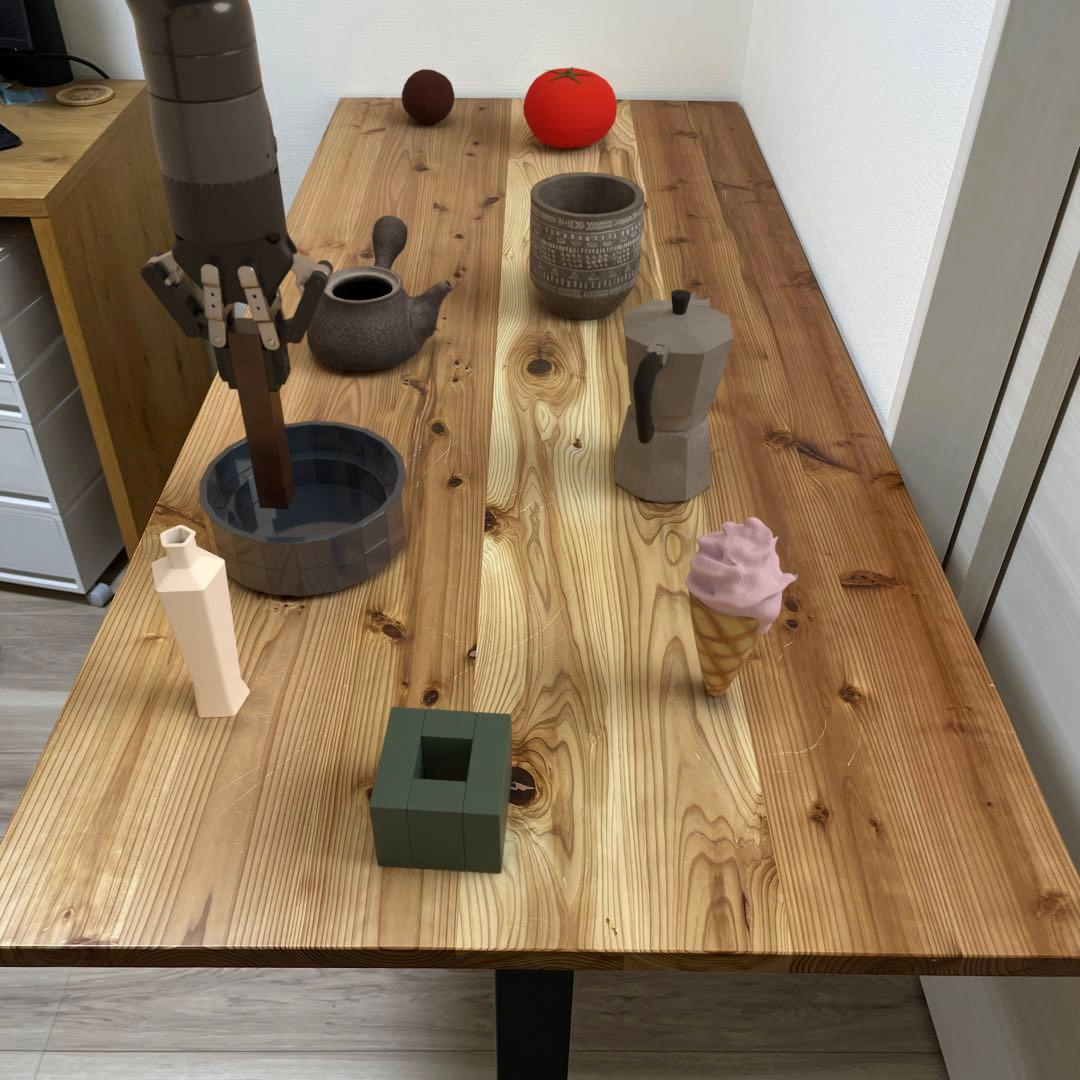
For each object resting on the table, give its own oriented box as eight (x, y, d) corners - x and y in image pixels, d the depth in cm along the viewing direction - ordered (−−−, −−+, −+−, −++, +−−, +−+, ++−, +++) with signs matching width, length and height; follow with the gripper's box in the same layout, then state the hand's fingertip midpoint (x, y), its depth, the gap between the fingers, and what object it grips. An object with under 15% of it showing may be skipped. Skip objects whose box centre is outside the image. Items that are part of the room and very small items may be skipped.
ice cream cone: (779, 682, 77) (816, 522, 68) (746, 740, 73) (781, 578, 63) (695, 648, 80) (719, 488, 70) (658, 702, 76) (679, 540, 66)
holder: (377, 865, 65) (368, 806, 62) (398, 766, 71) (391, 706, 67) (501, 874, 65) (499, 815, 61) (512, 773, 71) (511, 713, 67)
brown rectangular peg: (259, 508, 87) (226, 332, 77) (267, 490, 89) (235, 317, 79) (288, 509, 87) (259, 334, 77) (295, 492, 89) (268, 318, 79)
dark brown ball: (432, 108, 171) (430, 57, 166) (468, 124, 165) (466, 72, 160) (390, 119, 167) (386, 67, 162) (425, 136, 161) (422, 83, 156)
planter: (515, 319, 118) (514, 207, 110) (547, 271, 127) (548, 165, 119) (622, 336, 115) (629, 223, 107) (647, 286, 124) (656, 179, 116)
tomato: (576, 121, 167) (578, 50, 160) (632, 145, 159) (637, 71, 153) (504, 141, 160) (503, 68, 153) (559, 167, 152) (561, 91, 146)
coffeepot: (637, 424, 103) (652, 247, 91) (732, 448, 100) (760, 269, 88) (576, 515, 92) (584, 328, 80) (681, 545, 89) (705, 355, 77)
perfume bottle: (206, 735, 73) (158, 572, 63) (178, 697, 76) (127, 534, 66) (266, 703, 75) (229, 540, 66) (237, 667, 78) (197, 505, 68)
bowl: (186, 595, 84) (170, 536, 80) (244, 472, 96) (232, 416, 92) (391, 607, 83) (385, 548, 79) (423, 481, 95) (419, 425, 91)
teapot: (454, 379, 108) (450, 289, 102) (301, 380, 108) (287, 289, 101) (459, 292, 123) (455, 208, 116) (324, 293, 122) (313, 209, 116)
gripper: (91, 174, 67) (150, 407, 78) (309, 183, 67) (338, 417, 78) (134, 133, 73) (183, 355, 84) (335, 141, 72) (358, 364, 83)
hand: (257, 384), depth 81 cm, fingers closed on brown rectangular peg, 2 cm apart
